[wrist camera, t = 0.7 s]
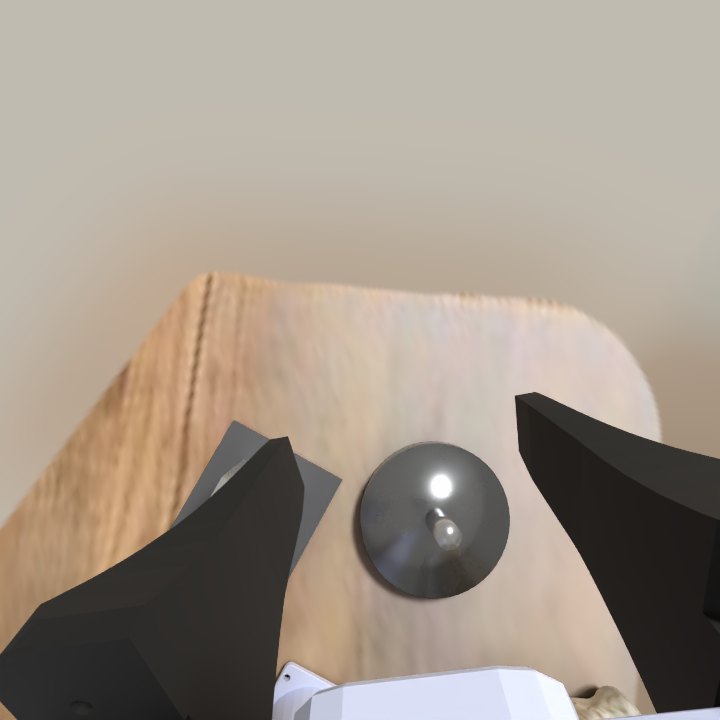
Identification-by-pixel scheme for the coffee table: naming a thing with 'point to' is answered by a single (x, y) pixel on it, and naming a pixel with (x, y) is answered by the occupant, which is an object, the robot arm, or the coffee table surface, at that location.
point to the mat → (244, 446)
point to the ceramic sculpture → (604, 705)
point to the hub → (434, 519)
